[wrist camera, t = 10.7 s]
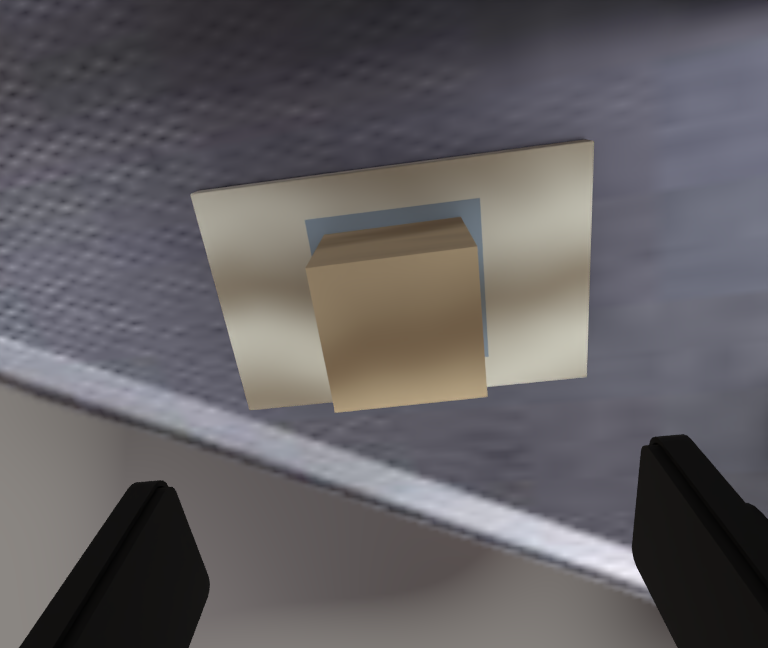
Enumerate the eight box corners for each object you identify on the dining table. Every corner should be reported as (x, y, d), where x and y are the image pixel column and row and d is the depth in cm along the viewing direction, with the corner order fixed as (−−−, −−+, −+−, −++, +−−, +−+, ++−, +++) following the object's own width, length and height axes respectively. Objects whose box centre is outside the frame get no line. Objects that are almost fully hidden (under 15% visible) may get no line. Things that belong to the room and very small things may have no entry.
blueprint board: (198, 190, 23) (189, 194, 22) (585, 139, 22) (594, 140, 21) (254, 399, 27) (249, 410, 26) (579, 367, 26) (586, 377, 25)
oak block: (324, 234, 22) (305, 268, 18) (460, 216, 22) (477, 246, 17) (346, 355, 25) (335, 412, 20) (470, 341, 24) (487, 396, 20)
